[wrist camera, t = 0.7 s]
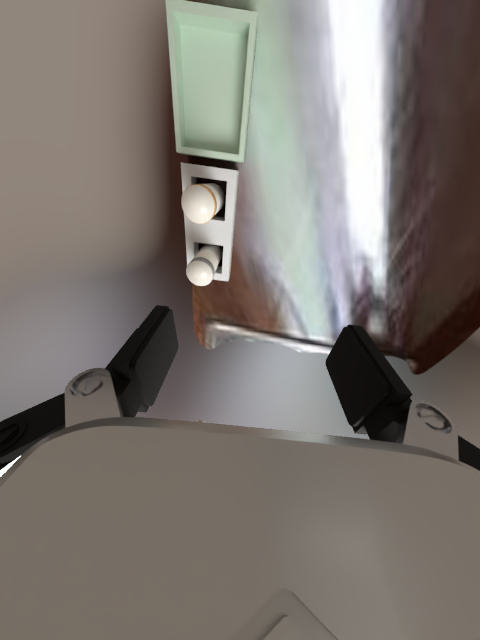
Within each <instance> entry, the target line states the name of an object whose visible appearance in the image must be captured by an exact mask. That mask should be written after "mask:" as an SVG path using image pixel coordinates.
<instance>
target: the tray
mask: <svg viewBox="0 0 480 640" xmlns="http://www.w3.org/2000/svg"><path fill="white" fill-rule="evenodd" d="M165 1H166V15H167V29H168V41H169V56H170V69H171V84H172V98H173V110H174V125H175V139H176V152H177V153H180V154H184V155H191V156H197V157H204V158H211V159H218V160H225V161H232V162H239V163H244V160H245V150H246V140H247V129H248V119H249V109H250V99H251V88H252V78H253V68H254V58H255V47H256V37H257V12H254V11H248V10H241V9H235V8H229V7H223V6H216V5H210V4H204V3H198V2H192V1H185V0H165Z"/></svg>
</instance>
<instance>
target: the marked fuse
mask: <svg viewBox="0 0 480 640" xmlns="http://www.w3.org/2000/svg"><path fill="white" fill-rule="evenodd" d="M224 203H225V195H224V192H223V190H222V188H221V187H220V186H219V185H217V184H215V183H207V184H193V185H190V186H188V187H187V188H186V189H185V190H184V192H183V194H182V199H181V204H182V209H183V211H184V213H185V215H186V216H187V218H188V219H190V220H191V221H192V222H194V223H197V224H204V223H207V222H208V221H210V220H211V219H212V218H213V216H214V215H215V214H216V213H218V212H219V211H220V210H221V209H222V207H223V206H224Z"/></svg>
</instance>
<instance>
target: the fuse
mask: <svg viewBox="0 0 480 640" xmlns="http://www.w3.org/2000/svg"><path fill="white" fill-rule="evenodd" d="M221 257H222V250H221V248H220V246H219V245H213V244H204V245H203V246H202V248H201V249H200V250H199V252H198V253H197V254H196V256H195V257H194V258H193V259H192V260H191V262H190V263H189V264H188V266H187V268H186V274H187V277H188V278H189V280H190V281H191V282H192V283H193V284H195V285H198V286H205V285H208V284H209V283H210V282H211V281H212V279H213V277H214V274H215V271H216V269H217V266H218V264H219V262H220V259H221Z"/></svg>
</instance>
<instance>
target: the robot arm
mask: <svg viewBox="0 0 480 640" xmlns="http://www.w3.org/2000/svg"><path fill="white" fill-rule="evenodd" d="M177 350H178V341H177V335H176V329H175V323H174V317H173V312H172V310H171V309H169V307H167V306H159V305H158V306H155V308H154V309H153V310H152V312H151V313H150V314H149V315H148V317H147V318H146V319H145V321H144V322H143V323H142V324H141V326H140V327H139V328H138V329H136V330H135V331H134V333H133V334H132V335H131V336H130V338H129V339H128V340H127V341H126V343H125V344H124V345H123V346H122V348H121V349H120V350H119V352H118V353H117V354H116V355H115V357H114V358H113V359H112V360H111V362H110V363H109V364H108V365H107V367H106V368H105V369H104V368H93V369H89V370H86V371H85V372H82V373H80V374H78V375H77V376H75V377H74V378H73V379H72V380H71V381H70V382H69V383H68V385H67V386H66V389H65V393H63V394H61V395H58V396H56V397H54V398H52V399H50V400H47V401H45V402H43V403H41V404H38V405H36V406H34V407H32V408H30V409H27V410H25V411H23V412H21V413H18V414H16V415H14V416H12V417H10V418H7V419H5V420H3V421H1V422H0V640H480V449H479V448H477V447H476V446H474V445H473V444H471V443H469V442H468V441H466V440H465V439H463V438H462V437H460V436H458V431H457V428H456V426H455V424H454V422H453V421H452V420H451V418H449V416H448V415H447V414H446V413H444V412H443V411H442V410H441V409H439V408H438V407H436V406H435V405H433V404H431V403H429V402H426V401H422V400H414V401H412V400H411V399H410V396H412V393H411V392H410V390H409V389H408V388H407V386H406V385H405V384H404V382H403V381H402V380H401V378H400V377H399V376H398V374H397V373H396V372H395V370H394V369H393V368H392V366H391V365H390V364H389V362H388V361H387V359H386V358H385V357H384V355H383V354H382V353H381V351H380V350H379V349H378V347H377V346H376V345H375V343H374V342H373V341H372V339H371V338H370V337H369V335H368V334H367V332H366V331H365V330H364V328H363V327H362V326H358V325H348V326H347V327H344V328H343V330H342V332H341V333H340V335H339V337H338V339H337V341H336V343H335V344H334V346H333V348H332V350H331V352H330V354H329V356H328V358H327V359H326V367H327V369H328V372H329V375H330V377H331V380H332V382H333V385H334V387H335V390H336V392H337V395H338V398H339V400H340V403H341V405H342V408H343V410H344V413H345V415H346V418H347V421H348V423H349V424H350V425H351V426H352V427H353V430H354V432H355V433H358V434H368V436H369V438H370V439H369V440H368V439H359V438H351V437H341V436H331V435H322V434H312V433H303V432H293V431H283V430H273V429H263V428H253V427H243V426H233V425H222V424H212V423H202V422H191V421H180V420H168V419H155V418H141V417H135V416H136V413H137V412H147V410H148V407H149V406H152V405H153V404H154V402H155V399H156V397H157V395H158V393H159V390H160V388H161V386H162V384H163V382H164V379H165V377H166V375H167V373H168V370H169V368H170V366H171V363H172V361H173V359H174V357H175V355H176V353H177Z"/></svg>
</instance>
